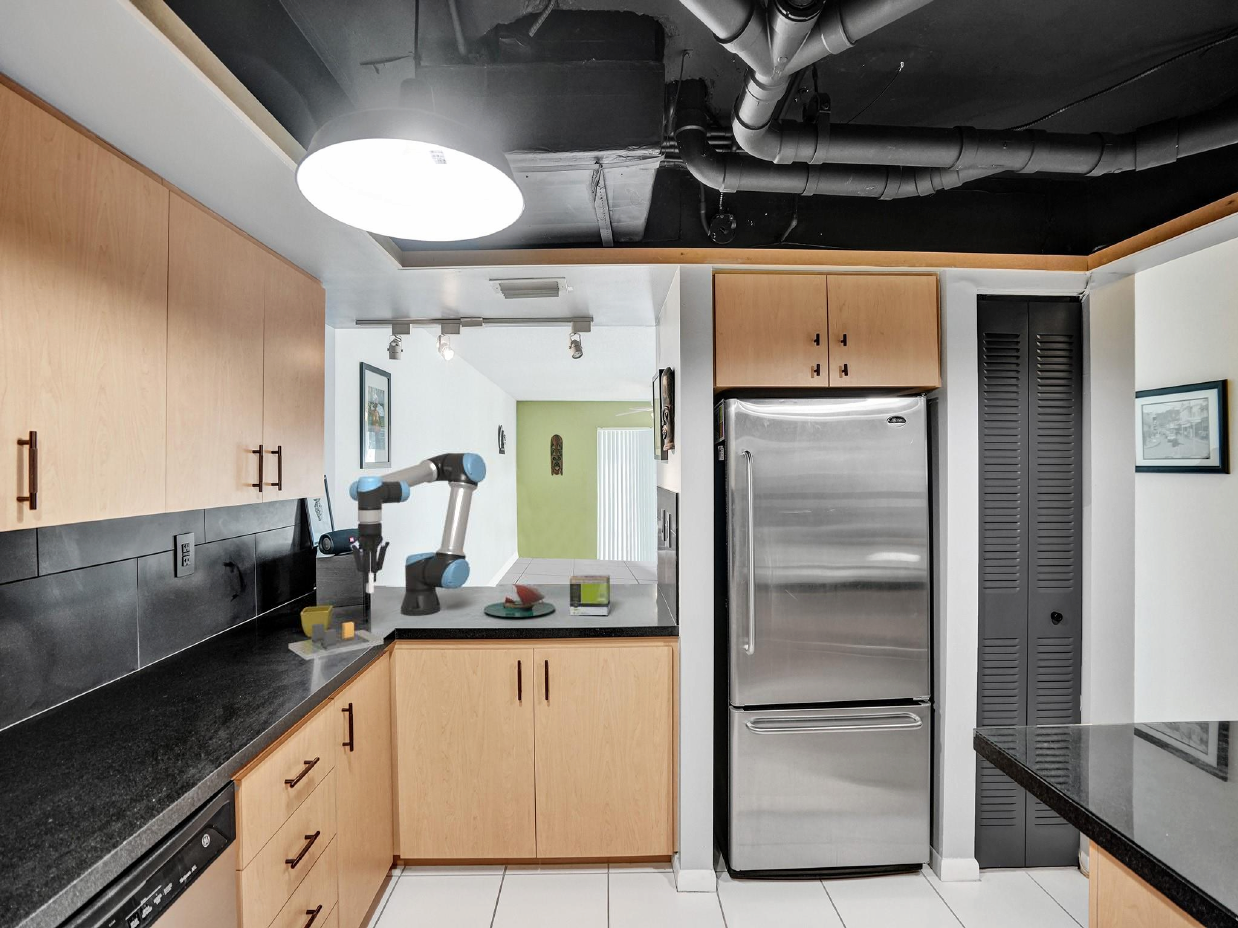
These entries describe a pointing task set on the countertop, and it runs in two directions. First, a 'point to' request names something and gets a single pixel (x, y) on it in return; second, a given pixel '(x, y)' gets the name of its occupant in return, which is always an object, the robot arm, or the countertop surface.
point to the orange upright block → (347, 630)
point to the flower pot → (315, 618)
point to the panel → (317, 649)
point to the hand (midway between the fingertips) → (369, 592)
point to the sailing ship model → (521, 604)
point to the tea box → (589, 594)
